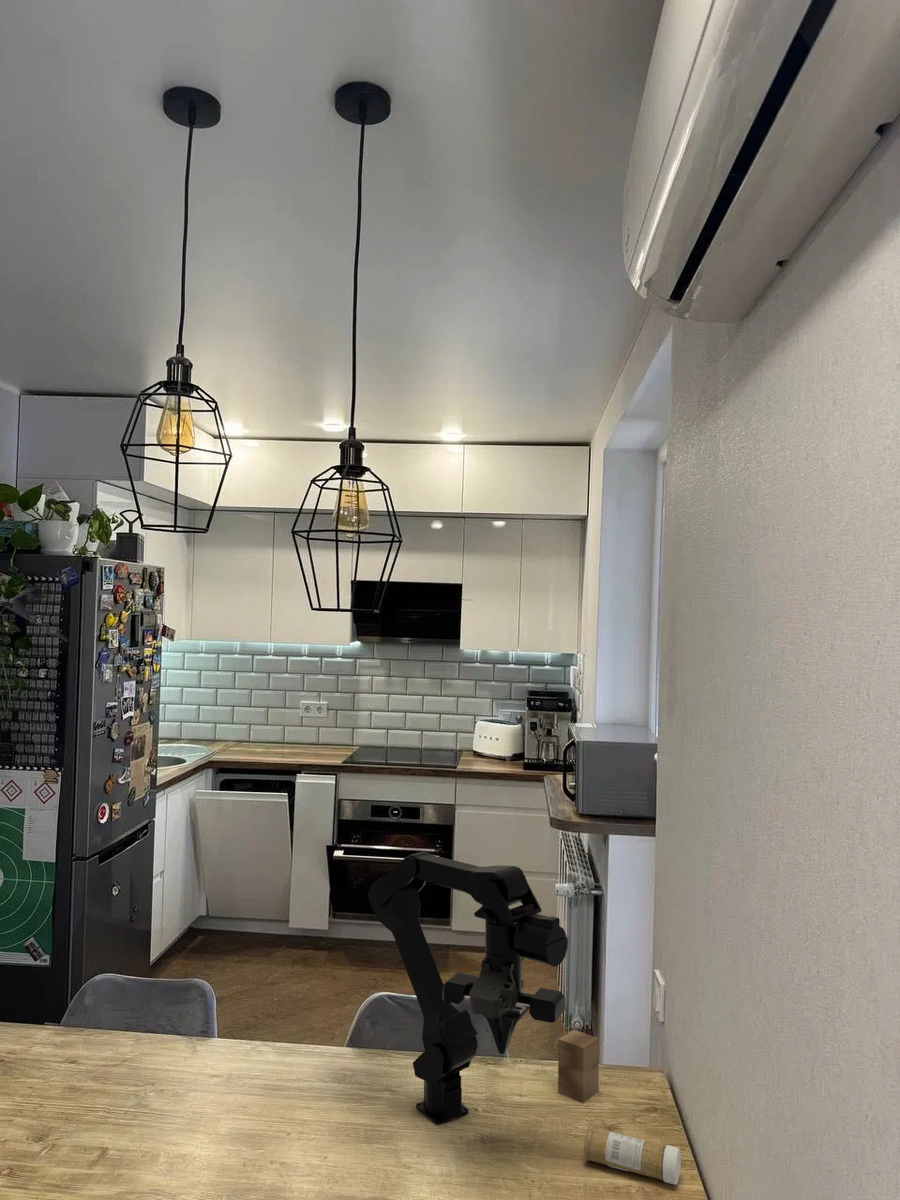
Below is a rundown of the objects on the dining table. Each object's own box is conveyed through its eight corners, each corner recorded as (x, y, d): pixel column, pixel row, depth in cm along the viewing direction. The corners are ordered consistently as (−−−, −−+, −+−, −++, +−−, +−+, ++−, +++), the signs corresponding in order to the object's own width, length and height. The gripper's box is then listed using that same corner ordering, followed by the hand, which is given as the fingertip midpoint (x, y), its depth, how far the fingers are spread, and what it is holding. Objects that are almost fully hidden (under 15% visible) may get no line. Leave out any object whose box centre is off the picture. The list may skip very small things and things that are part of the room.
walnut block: (558, 1093, 145) (558, 1039, 146) (573, 1082, 149) (573, 1029, 150) (583, 1103, 142) (583, 1047, 143) (598, 1091, 146) (598, 1038, 146)
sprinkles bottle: (586, 1165, 126) (678, 1191, 120) (581, 1151, 123) (674, 1177, 118) (593, 1133, 129) (682, 1156, 124) (587, 1119, 127) (679, 1142, 121)
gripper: (427, 956, 129) (425, 1062, 128) (543, 977, 122) (542, 1090, 120) (457, 935, 140) (456, 1033, 138) (566, 953, 132) (566, 1057, 131)
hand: (502, 1052), depth 132 cm, fingers closed
